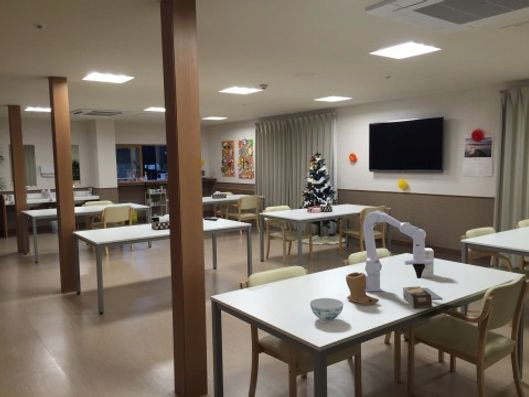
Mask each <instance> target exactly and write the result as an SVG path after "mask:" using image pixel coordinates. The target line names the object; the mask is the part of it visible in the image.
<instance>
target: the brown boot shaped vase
mask: <svg viewBox="0 0 529 397" xmlns="http://www.w3.org/2000/svg"><path fill="white" fill-rule="evenodd" d="M365 274H366V273H364V272H350V273H347V275H346V276H345V282H346V285H347V287H348V289H349V295H348V296H347V297H346V299H347V300H349V301H351V302H356V303H359V304H361V305H365V306H366V305H367V306H371V305H374V304H377V303H379V300H380V299H379V298H377V297H374V296H373V297H372V296H370V295H367V293H366V292H367V291H366V276H365Z"/></svg>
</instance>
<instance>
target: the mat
mask: <svg viewBox="0 0 529 397" xmlns="http://www.w3.org/2000/svg"><path fill="white" fill-rule="evenodd" d="M422 288H423V289H424V290H425V291H427V292H428V293H429V294H431V299H432V301H433V300H443V297H441V296H440V295H438V294H437V293H435V292H434V291H433V290H431V289H430V288H428V287H422Z"/></svg>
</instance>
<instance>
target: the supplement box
mask: <svg viewBox="0 0 529 397" xmlns="http://www.w3.org/2000/svg"><path fill="white" fill-rule="evenodd" d="M434 254H435V252H434V249H432V248H431V247H425V260H433V264H424V265H425V268H424V270H423V272H422V275H421V278H434V275H435V274H434V271H435V270H434V260H435V259H434V257H435V256H434Z"/></svg>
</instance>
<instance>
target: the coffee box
mask: <svg viewBox="0 0 529 397" xmlns="http://www.w3.org/2000/svg"><path fill="white" fill-rule="evenodd" d="M423 288H424V287H421V286H420V285H417V286H405V287H402V293H403V294H402V295H403V300H405V302H407V304H408V305H410V306H411V307H412V308H413V309H426V308H427V309H429V308H433V300H432V299H431V294H429V293H428V292H427V291H425V290H424V289H423Z"/></svg>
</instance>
